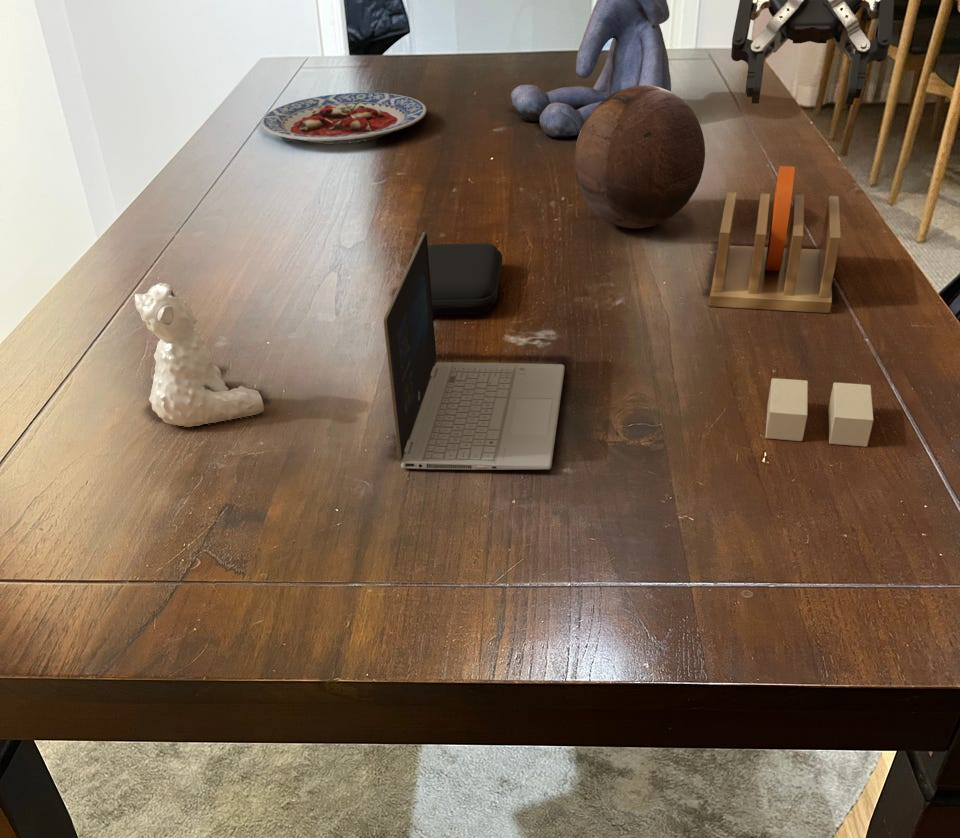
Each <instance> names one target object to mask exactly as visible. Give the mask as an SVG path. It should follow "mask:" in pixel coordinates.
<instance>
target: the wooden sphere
mask: <svg viewBox="0 0 960 838" xmlns="http://www.w3.org/2000/svg"><path fill="white" fill-rule="evenodd" d="M705 160H706V144H705V137H704V133H703V128H702V126H701V124H700V122H699V118H698V116H696V114H695V113H694V110H693V109H692V108H691V107H690V106H689V104H687V102H686V101H685V100H684V99H683V98H682V97H680V96H679V95H677V94H675V93H674V92H672V91H671V92H670V91H668V90H666V89H663V88H660V87H656V86H648V85H641V86H633V87H628V88H625V89H622V90H620V91H618V92H615V93H614V94H612V95H610V96H609V97H607V98H606V99H604V100H603V101H602V102H601V103H600V104H599V105H598V106H597V107H596V108H595V109H594V110H593V111H592V113H591V114H590V115H589V117H588V118H587V120H586V121H585V123H584V125H583V127H582V129H581V131H580V134H579V136H577V141H576V146H575V151H574V173H575V178H576V182H577V186H578V189H579V191H580V193H581V196H582V198H583V200H584V201H585V202H586V203H587V205H588V206H589V208H590V209H591V210H592V211H593V212H594V213H595V214H596V215H597V216H599V217H600V218H601V219H603V220H605V221H606V222H608V223H610V224H612V225H614V226H617V227H621V228H626V229H645V228H650V227H653V226H654V227H655V226H657V225H659V224H662V223H664V222H665V221H668V220H669V219H670V218H672V217H674V216H675V215H676V214H678V213H679V212H680V211H681V210H682V209H683V208H684V207H685V206H686V205H687V204H688V203H689V201H690V200H691V198H692V197H693V195H694V194H695V192H696V191H697V188H698V186H699V184H700V181H701V179H702V175H703V172H704V169H705V168H704V167H705V162H706V161H705Z"/></svg>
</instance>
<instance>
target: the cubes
mask: <svg viewBox="0 0 960 838" xmlns="http://www.w3.org/2000/svg"><path fill="white" fill-rule="evenodd" d="M808 394H809V381H808V380H806V379H805V380H804V379H792V378H791V379H789V378H777V377H775V378H774V377H772V378H771V381H770V387H769V393H768V399H767V409H766V422H765V437H764V438H765V439H768V440H781V441H791V442H793V441H794V442H803V440H804V436H805V430H806V426H807V420H808V413H809V412H808V409H809V408H808V407H809V404H808V401H809V400H808V399H809V398H808V397H809V396H808ZM872 396H873V395H872V386H871V384H863V383H862V384H861V383H848V382H833V384H832V389H831V394H830V398H829V404H828V408H827V411H828V412H827V413H828V414H827V415H828V444H830V445H840V446H851V447H864V448H867V447H868V446H869V442H870V437H871V433H872V429H873V424H874V408H873V397H872Z"/></svg>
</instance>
